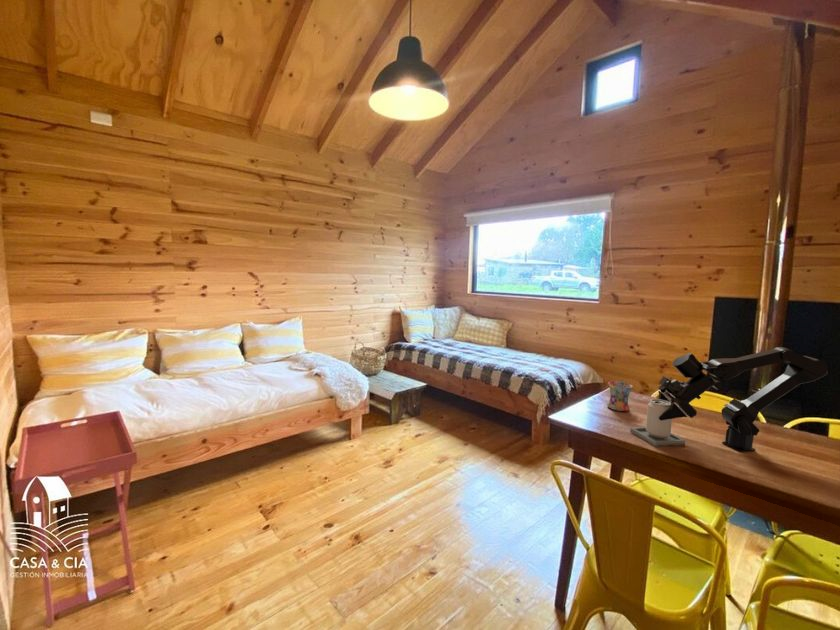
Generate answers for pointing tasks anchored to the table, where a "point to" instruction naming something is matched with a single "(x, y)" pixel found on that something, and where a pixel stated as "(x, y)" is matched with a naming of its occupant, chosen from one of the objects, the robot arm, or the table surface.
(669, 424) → the can
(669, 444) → the slate dish
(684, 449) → the table surface
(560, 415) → the table surface
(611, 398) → the mug
